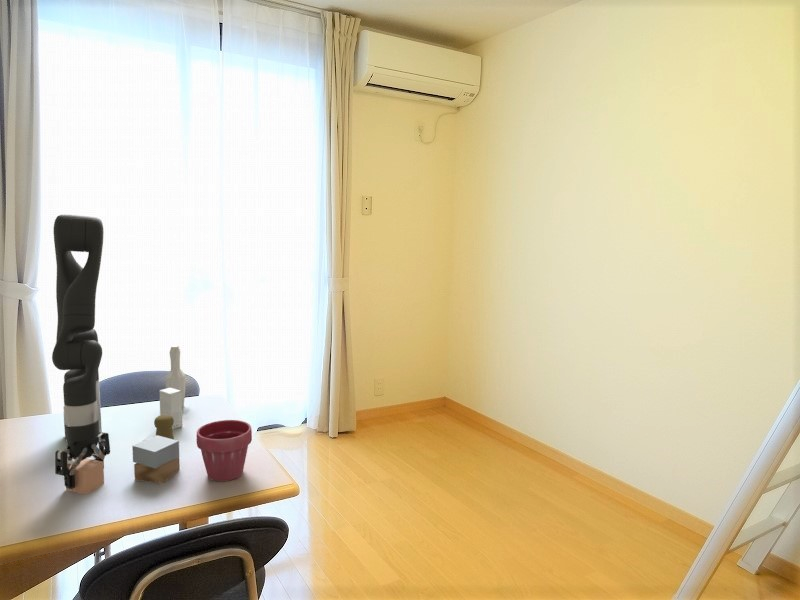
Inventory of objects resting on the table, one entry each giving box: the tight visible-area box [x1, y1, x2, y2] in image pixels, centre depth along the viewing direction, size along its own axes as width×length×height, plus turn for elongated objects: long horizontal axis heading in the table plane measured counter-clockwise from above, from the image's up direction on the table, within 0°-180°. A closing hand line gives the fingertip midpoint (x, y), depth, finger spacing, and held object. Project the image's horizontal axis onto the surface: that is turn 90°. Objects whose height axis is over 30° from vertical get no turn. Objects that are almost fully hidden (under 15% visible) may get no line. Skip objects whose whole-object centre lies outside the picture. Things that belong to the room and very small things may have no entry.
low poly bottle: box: [165, 345, 187, 408], centre depth 201 cm, size 6×6×22 cm
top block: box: [132, 434, 180, 469], centre depth 151 cm, size 8×8×4 cm
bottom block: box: [133, 456, 180, 484], centre depth 152 cm, size 8×8×4 cm
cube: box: [65, 457, 105, 495], centre depth 144 cm, size 6×6×6 cm
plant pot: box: [196, 419, 253, 482], centre depth 153 cm, size 14×14×13 cm
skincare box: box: [158, 388, 184, 430], centre depth 185 cm, size 6×4×12 cm
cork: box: [153, 414, 175, 440], centre depth 165 cm, size 6×6×11 cm
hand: (85, 480), depth 144 cm, fingers open, 8 cm apart
